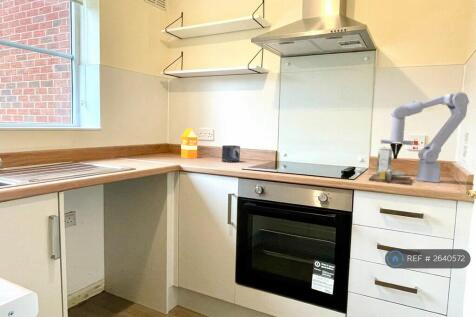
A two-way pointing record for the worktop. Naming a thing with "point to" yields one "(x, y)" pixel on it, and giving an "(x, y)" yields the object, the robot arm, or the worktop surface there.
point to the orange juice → (189, 144)
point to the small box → (230, 153)
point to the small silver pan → (384, 172)
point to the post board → (391, 179)
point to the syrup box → (384, 158)
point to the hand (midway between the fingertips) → (395, 158)
